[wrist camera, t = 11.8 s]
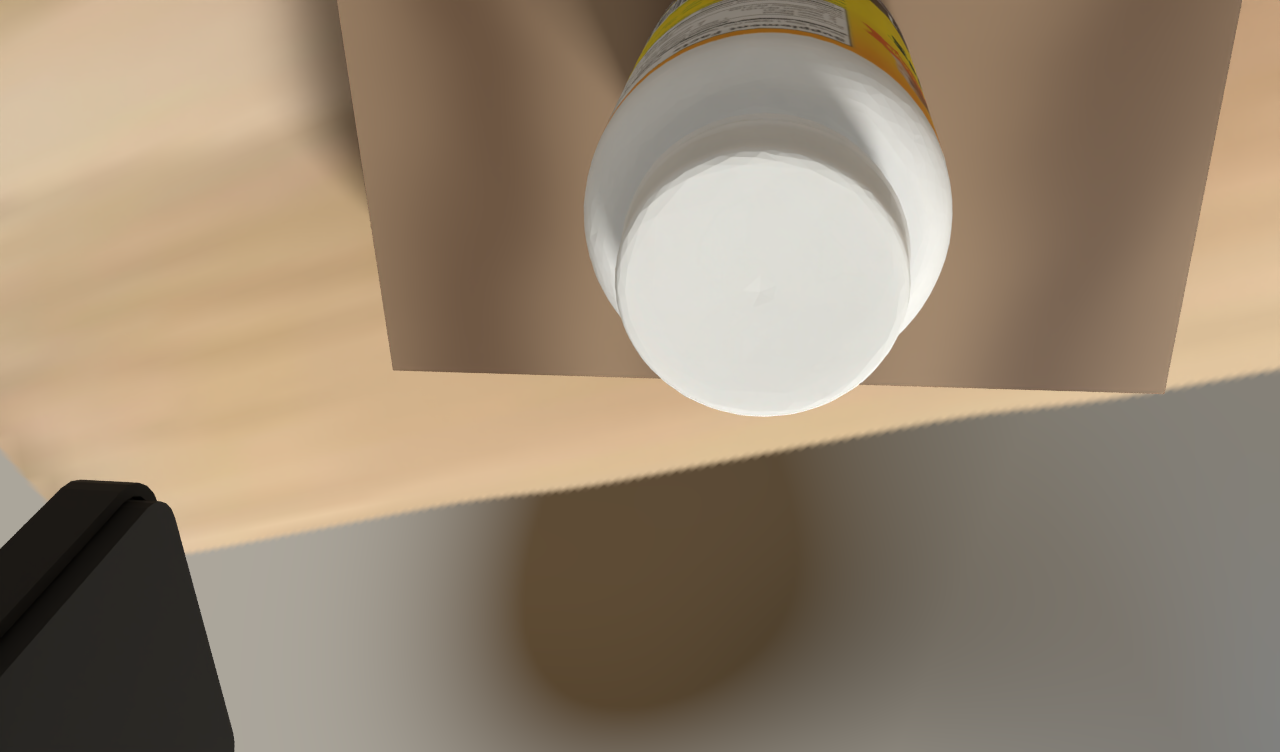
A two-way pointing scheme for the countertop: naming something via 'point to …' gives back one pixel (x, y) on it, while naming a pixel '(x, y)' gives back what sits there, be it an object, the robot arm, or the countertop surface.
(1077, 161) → the walnut riser
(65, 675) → the robot arm
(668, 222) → the supplement bottle
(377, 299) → the countertop surface
